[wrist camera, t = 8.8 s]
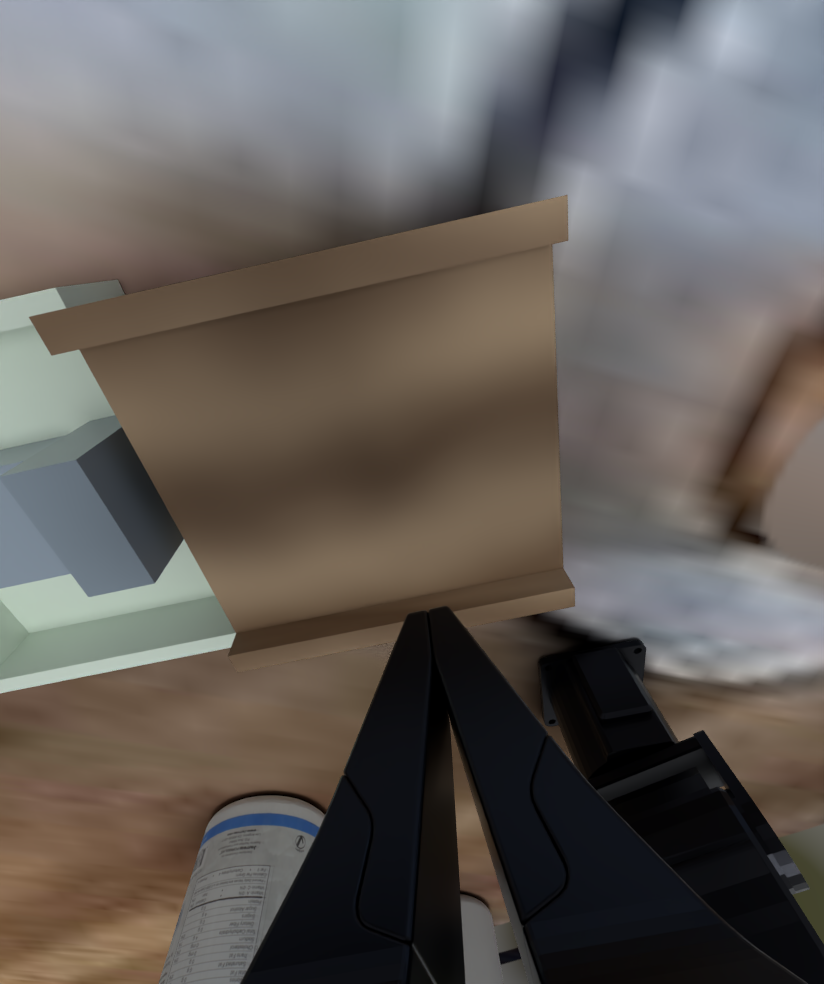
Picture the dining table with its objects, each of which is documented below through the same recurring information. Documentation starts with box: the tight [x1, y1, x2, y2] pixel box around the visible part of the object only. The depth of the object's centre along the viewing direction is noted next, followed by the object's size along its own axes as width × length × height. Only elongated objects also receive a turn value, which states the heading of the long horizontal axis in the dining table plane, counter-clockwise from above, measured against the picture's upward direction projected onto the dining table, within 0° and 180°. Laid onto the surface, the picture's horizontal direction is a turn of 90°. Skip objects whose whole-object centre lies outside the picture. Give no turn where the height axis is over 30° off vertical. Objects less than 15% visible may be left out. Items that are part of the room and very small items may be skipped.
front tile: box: [0, 415, 184, 597], centre depth 17 cm, size 5×5×2 cm
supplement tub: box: [159, 795, 325, 984], centre depth 28 cm, size 10×10×15 cm
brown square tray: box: [29, 195, 575, 673], centre depth 17 cm, size 14×14×6 cm
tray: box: [0, 280, 236, 693], centre depth 18 cm, size 15×13×4 cm
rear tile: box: [0, 435, 71, 589], centre depth 18 cm, size 5×5×2 cm
